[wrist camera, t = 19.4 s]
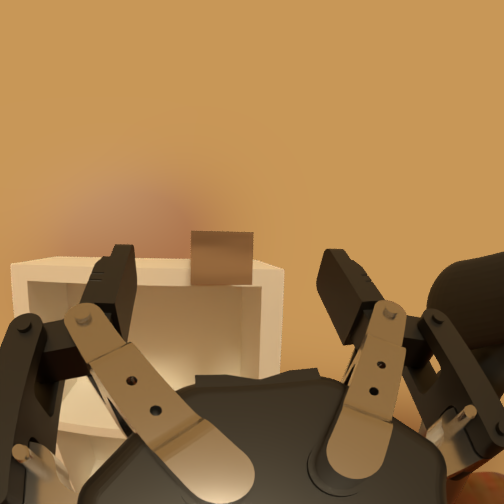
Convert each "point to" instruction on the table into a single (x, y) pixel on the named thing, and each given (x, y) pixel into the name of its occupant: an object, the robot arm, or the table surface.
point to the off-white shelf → (156, 337)
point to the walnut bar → (221, 258)
